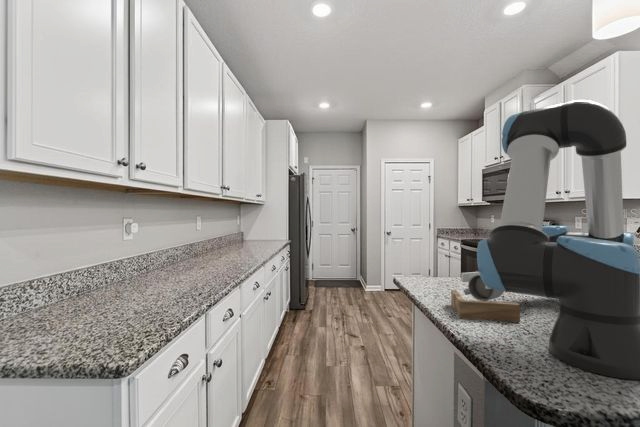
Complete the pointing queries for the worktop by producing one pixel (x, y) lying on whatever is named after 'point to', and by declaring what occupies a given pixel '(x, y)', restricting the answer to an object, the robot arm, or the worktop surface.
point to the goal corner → (485, 309)
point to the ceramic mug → (481, 289)
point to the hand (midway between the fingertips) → (473, 280)
